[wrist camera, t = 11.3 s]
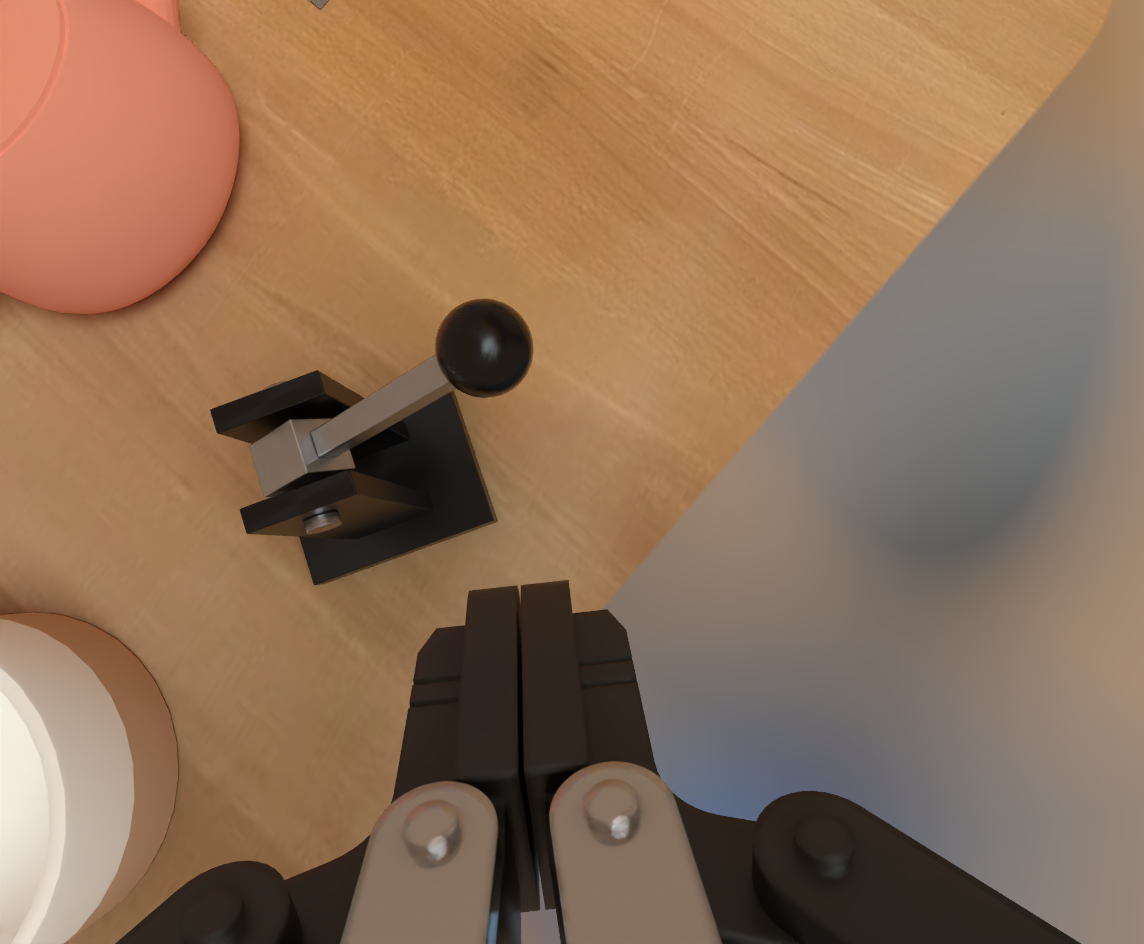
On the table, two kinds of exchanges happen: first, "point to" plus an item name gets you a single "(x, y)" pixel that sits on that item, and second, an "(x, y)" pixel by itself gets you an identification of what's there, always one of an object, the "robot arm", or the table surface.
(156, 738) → the bowl
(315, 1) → the platform
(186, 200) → the teapot
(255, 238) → the table surface
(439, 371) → the lever handle
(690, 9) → the table surface
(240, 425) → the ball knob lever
